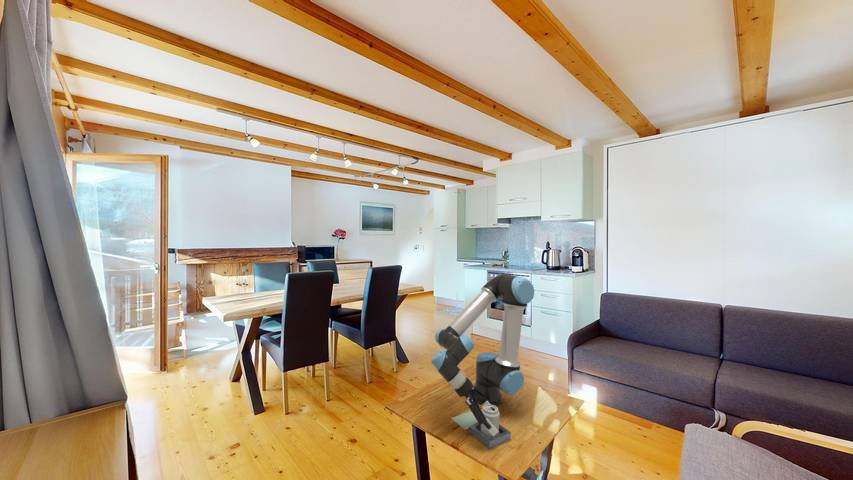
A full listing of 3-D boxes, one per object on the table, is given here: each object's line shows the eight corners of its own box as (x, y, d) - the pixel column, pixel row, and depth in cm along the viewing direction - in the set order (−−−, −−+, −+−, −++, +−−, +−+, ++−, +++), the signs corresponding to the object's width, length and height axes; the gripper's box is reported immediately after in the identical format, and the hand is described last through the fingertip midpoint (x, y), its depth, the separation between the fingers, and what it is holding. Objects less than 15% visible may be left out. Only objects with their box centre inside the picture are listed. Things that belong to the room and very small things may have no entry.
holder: (489, 424, 140) (489, 417, 140) (510, 439, 130) (510, 432, 130) (468, 433, 133) (469, 425, 133) (489, 449, 123) (489, 442, 123)
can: (502, 440, 129) (503, 411, 129) (485, 443, 127) (486, 413, 127) (493, 429, 136) (494, 402, 136) (477, 432, 134) (478, 404, 134)
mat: (471, 411, 150) (471, 410, 150) (485, 421, 142) (485, 420, 142) (451, 419, 143) (451, 418, 143) (465, 430, 135) (465, 429, 135)
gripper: (456, 376, 146) (488, 412, 144) (450, 403, 122) (488, 448, 119) (468, 366, 145) (501, 402, 143) (464, 392, 121) (503, 437, 118)
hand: (495, 423), depth 131 cm, fingers open, 13 cm apart
